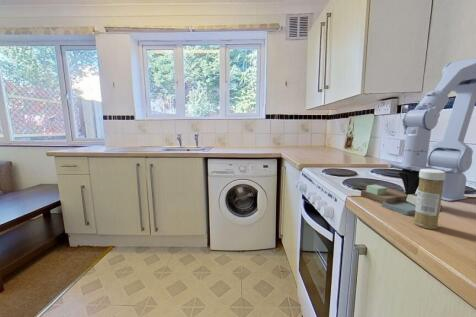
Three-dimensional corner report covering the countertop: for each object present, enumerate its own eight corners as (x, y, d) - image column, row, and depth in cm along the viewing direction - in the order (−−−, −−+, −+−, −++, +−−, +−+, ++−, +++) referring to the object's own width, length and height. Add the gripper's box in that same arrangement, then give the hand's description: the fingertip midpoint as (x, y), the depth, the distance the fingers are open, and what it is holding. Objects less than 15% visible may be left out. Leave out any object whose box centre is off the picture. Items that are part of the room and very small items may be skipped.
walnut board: (386, 192, 79) (387, 187, 79) (413, 201, 71) (414, 194, 71) (360, 195, 76) (361, 190, 75) (385, 205, 67) (386, 198, 67)
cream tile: (415, 199, 69) (417, 193, 68) (429, 206, 66) (431, 200, 65) (405, 200, 68) (407, 194, 67) (419, 207, 64) (421, 201, 64)
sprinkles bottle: (440, 226, 53) (448, 170, 51) (433, 231, 51) (442, 173, 49) (416, 219, 57) (424, 167, 55) (409, 224, 54) (416, 169, 52)
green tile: (375, 190, 75) (375, 184, 75) (386, 193, 72) (387, 187, 71) (366, 191, 74) (366, 185, 74) (377, 195, 70) (377, 188, 70)
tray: (414, 201, 71) (415, 197, 71) (441, 209, 64) (442, 205, 64) (381, 206, 66) (382, 202, 66) (406, 215, 60) (407, 211, 59)
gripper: (383, 148, 72) (378, 189, 74) (434, 154, 59) (427, 204, 61) (398, 147, 74) (394, 187, 76) (452, 153, 61) (444, 201, 63)
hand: (409, 194), depth 69 cm, fingers closed
